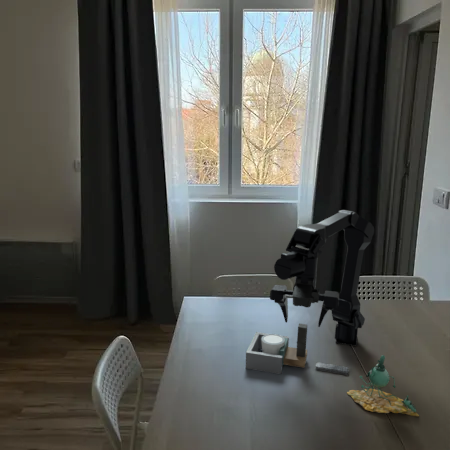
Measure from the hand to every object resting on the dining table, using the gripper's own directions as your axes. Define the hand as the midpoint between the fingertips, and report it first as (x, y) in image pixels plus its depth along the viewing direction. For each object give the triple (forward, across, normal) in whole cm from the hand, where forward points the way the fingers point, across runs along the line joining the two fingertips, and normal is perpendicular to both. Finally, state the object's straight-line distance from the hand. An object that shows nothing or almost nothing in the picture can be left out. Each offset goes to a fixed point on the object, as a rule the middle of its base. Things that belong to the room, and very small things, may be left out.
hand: (302, 324), depth 132 cm
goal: (+13, -9, 0) cm, 16 cm away
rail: (+13, +9, 0) cm, 16 cm away
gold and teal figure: (+13, +22, -13) cm, 29 cm away
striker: (+11, -2, 0) cm, 12 cm away
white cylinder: (+13, -8, 0) cm, 15 cm away
